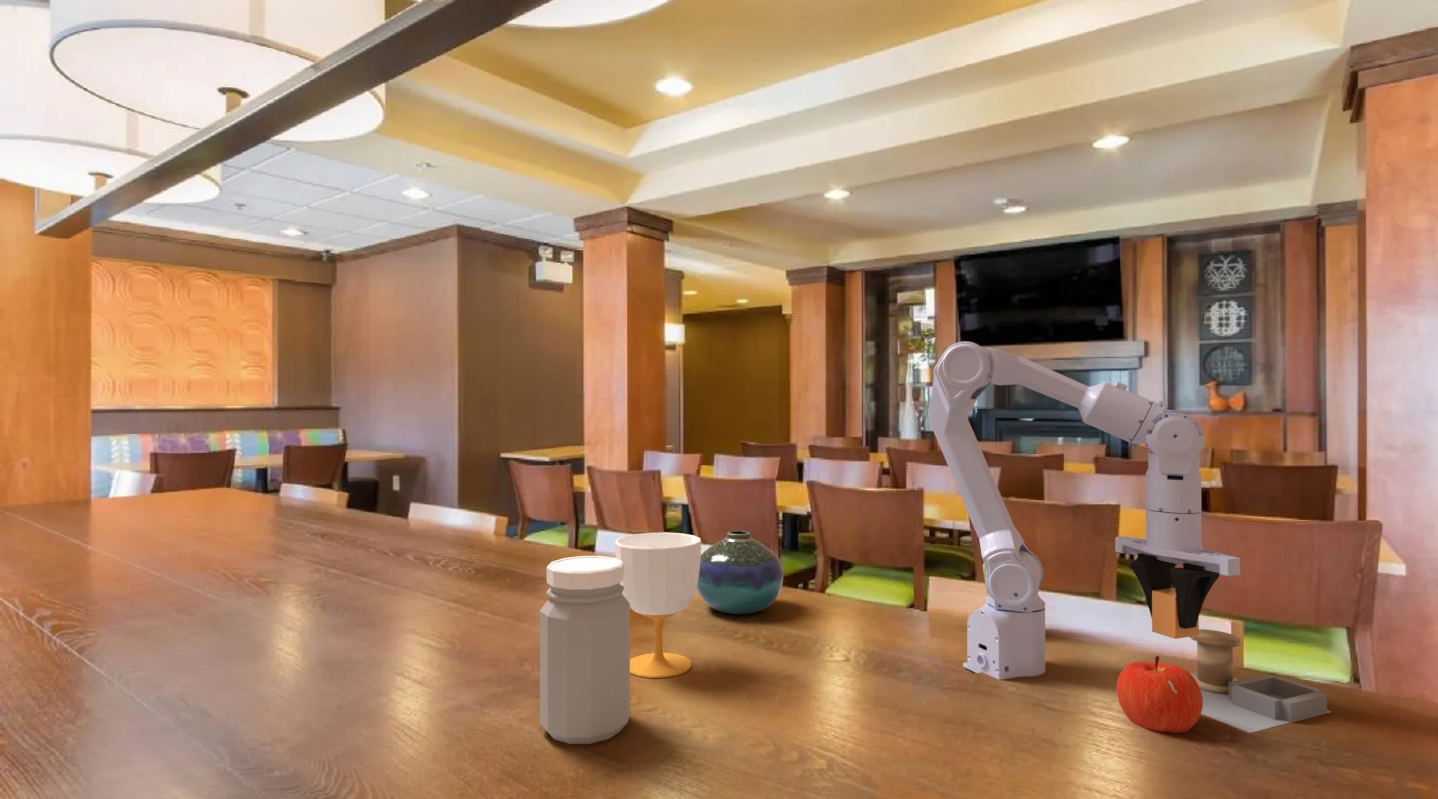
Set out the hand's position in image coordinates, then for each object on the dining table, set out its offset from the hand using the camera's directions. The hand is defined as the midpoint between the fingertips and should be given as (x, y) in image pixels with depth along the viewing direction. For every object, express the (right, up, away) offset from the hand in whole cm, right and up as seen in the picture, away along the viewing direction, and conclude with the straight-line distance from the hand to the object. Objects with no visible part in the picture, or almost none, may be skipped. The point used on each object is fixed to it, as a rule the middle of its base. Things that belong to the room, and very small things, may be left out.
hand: (1173, 622), depth 88 cm
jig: (+5, -9, -2) cm, 10 cm away
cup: (-63, -9, +11) cm, 65 cm away
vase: (-52, -10, +38) cm, 65 cm away
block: (0, -1, 0) cm, 1 cm away
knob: (+6, -9, +1) cm, 11 cm away
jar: (-70, -9, -8) cm, 71 cm away
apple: (-7, -9, -9) cm, 14 cm away
